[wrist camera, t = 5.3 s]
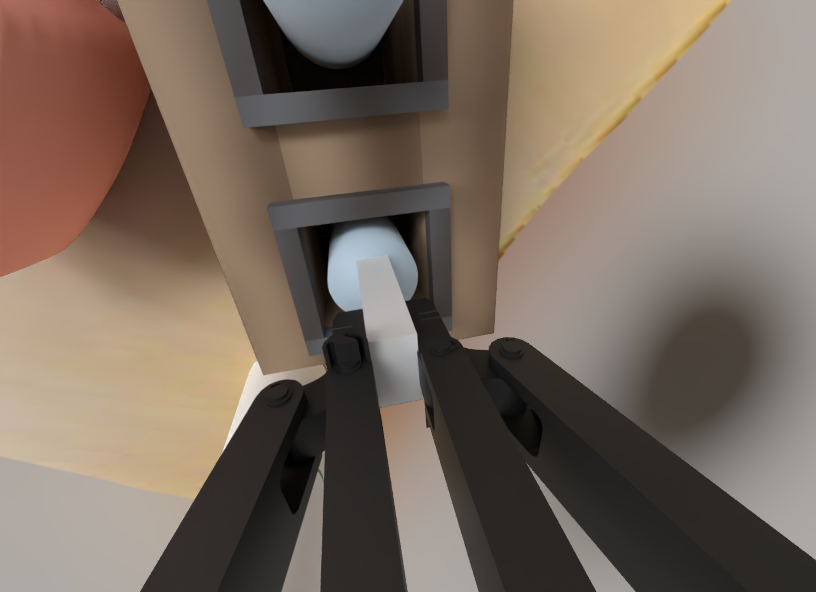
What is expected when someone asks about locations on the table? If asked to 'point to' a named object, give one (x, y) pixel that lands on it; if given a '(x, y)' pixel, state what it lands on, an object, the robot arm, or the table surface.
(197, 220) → the table surface
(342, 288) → the peg rear
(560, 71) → the table surface
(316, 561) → the cylindrical container
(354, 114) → the wooden peg block
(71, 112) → the teapot
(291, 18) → the peg front
